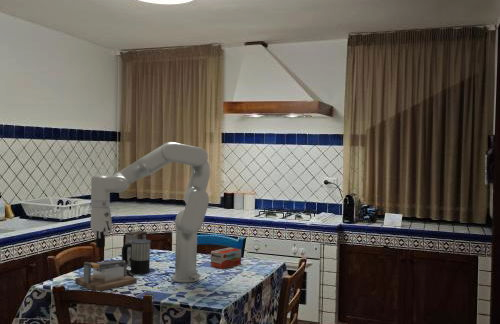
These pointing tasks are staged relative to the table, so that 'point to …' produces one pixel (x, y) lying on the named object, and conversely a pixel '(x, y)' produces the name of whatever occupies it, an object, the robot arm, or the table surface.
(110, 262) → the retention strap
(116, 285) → the base board
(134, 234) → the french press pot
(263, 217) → the table surface
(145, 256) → the milk frother
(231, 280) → the table surface
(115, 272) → the heat sink
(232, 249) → the medicine box
